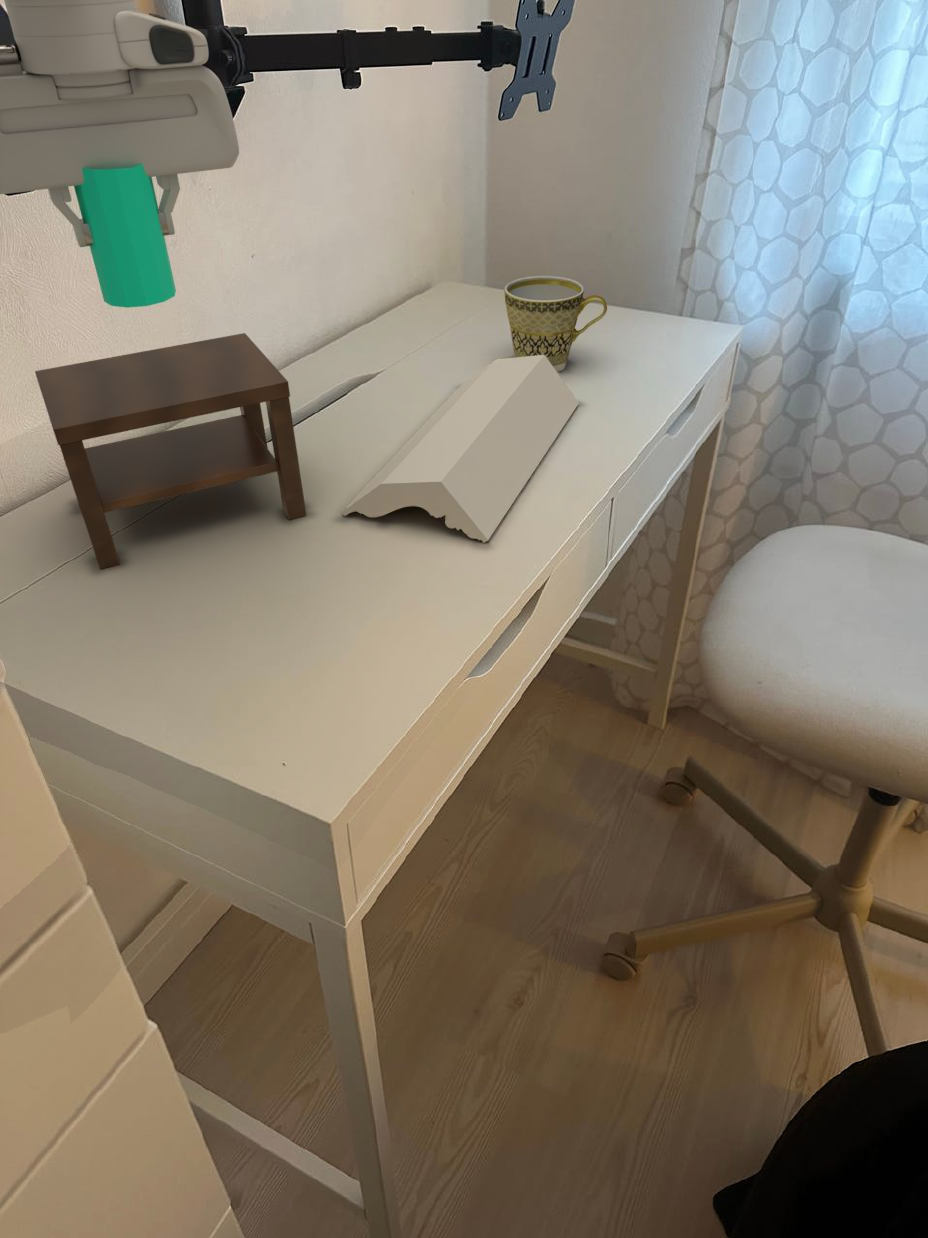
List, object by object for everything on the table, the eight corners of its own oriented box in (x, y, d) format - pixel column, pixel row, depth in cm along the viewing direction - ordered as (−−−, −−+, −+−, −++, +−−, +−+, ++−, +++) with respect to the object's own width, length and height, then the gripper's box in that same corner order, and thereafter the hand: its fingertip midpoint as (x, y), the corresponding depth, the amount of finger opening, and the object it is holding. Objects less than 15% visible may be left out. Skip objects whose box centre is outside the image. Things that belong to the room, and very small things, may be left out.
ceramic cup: (496, 376, 115) (496, 298, 109) (511, 348, 123) (512, 273, 116) (597, 384, 112) (603, 304, 106) (606, 355, 120) (612, 278, 114)
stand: (99, 570, 81) (53, 429, 73) (77, 502, 91) (34, 370, 83) (307, 516, 88) (288, 380, 80) (266, 458, 98) (245, 332, 90)
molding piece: (508, 448, 115) (460, 385, 112) (579, 402, 107) (529, 334, 105) (406, 587, 91) (341, 512, 88) (488, 540, 83) (420, 456, 81)
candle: (168, 281, 80) (136, 129, 72) (183, 300, 75) (149, 140, 68) (99, 291, 78) (58, 136, 70) (109, 311, 73) (67, 149, 66)
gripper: (-76, 53, 59) (-5, 268, 68) (227, 34, 66) (256, 231, 75) (-78, 46, 64) (-11, 248, 72) (206, 29, 71) (236, 214, 79)
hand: (127, 239), depth 74 cm, fingers closed on candle, 5 cm apart
